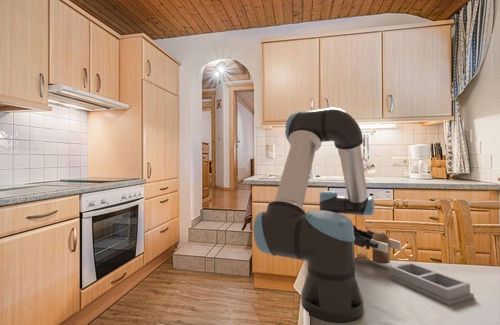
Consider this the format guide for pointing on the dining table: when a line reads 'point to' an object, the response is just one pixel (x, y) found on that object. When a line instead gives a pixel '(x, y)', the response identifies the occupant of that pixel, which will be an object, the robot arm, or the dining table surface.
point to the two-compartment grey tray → (431, 283)
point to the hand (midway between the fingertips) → (393, 247)
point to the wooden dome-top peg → (377, 254)
